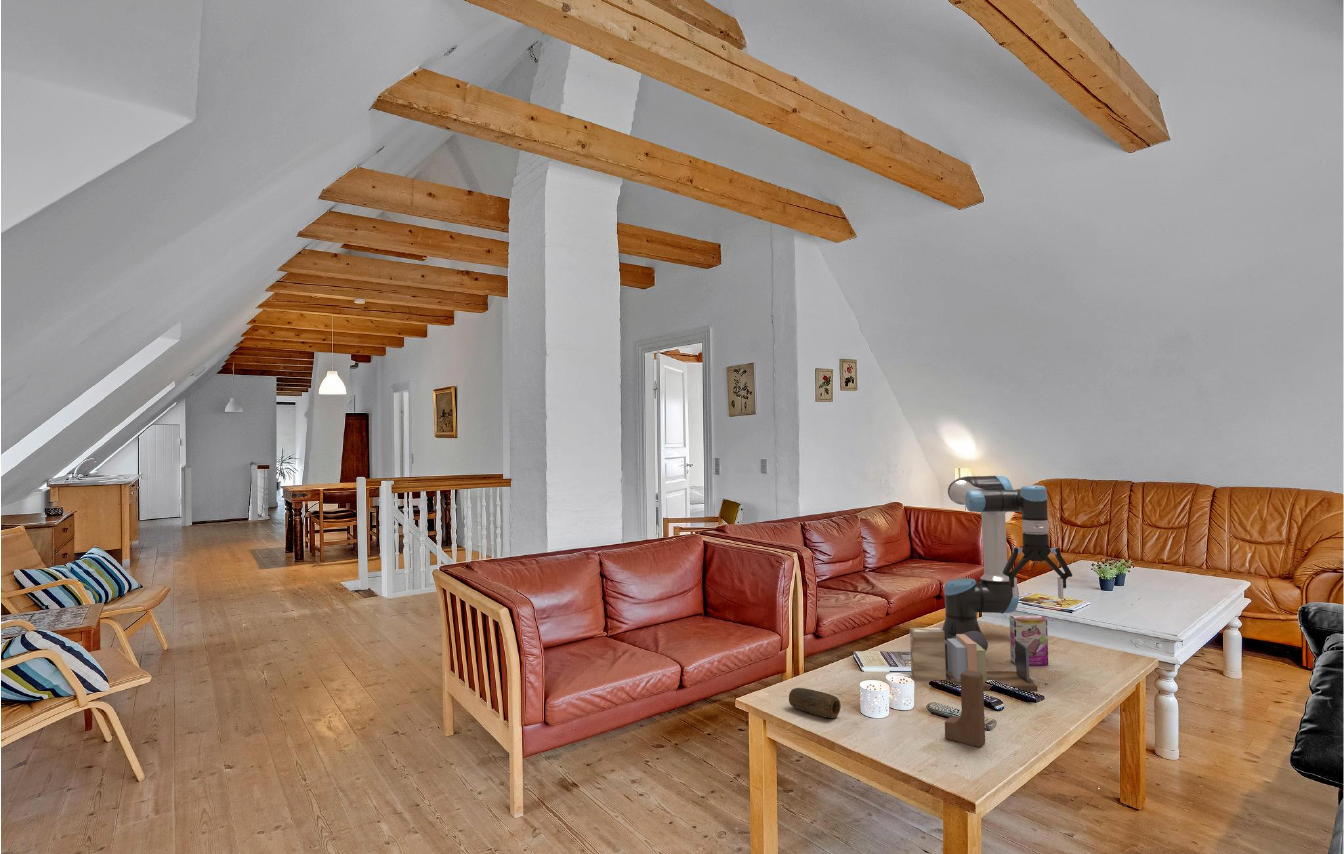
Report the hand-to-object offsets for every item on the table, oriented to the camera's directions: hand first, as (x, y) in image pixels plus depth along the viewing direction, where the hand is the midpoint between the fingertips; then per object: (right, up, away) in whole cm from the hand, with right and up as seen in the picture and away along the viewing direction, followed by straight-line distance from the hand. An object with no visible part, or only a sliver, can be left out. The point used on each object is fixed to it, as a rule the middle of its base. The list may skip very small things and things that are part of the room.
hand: (1037, 597), depth 218 cm
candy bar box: (+6, -28, +17) cm, 33 cm away
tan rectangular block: (-34, -28, +4) cm, 44 cm away
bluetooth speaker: (-17, -28, +18) cm, 37 cm away
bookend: (-6, -26, -2) cm, 26 cm away
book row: (-23, -26, 0) cm, 35 cm away
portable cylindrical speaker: (-78, -28, -22) cm, 86 cm away
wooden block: (-43, -27, -43) cm, 66 cm away
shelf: (-17, -27, -1) cm, 32 cm away
